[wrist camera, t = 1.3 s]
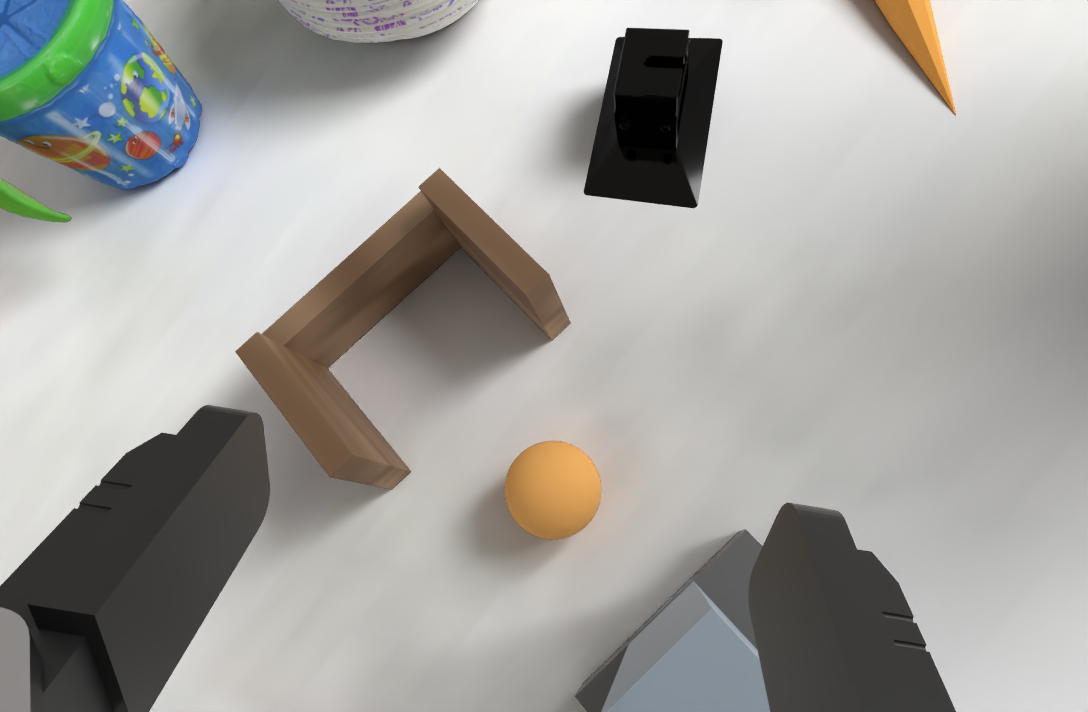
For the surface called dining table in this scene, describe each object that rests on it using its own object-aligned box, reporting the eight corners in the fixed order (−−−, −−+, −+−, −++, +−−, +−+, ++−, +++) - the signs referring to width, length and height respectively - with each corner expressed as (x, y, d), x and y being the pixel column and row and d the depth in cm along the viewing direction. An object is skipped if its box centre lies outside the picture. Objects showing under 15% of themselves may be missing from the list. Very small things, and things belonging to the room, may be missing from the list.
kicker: (739, 531, 28) (803, 518, 15) (803, 595, 27) (935, 645, 14) (582, 683, 27) (501, 814, 14) (641, 755, 26) (613, 970, 13)
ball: (563, 429, 30) (548, 413, 27) (624, 495, 29) (617, 488, 25) (498, 490, 30) (473, 482, 26) (557, 559, 29) (540, 561, 25)
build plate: (706, 239, 32) (711, 191, 28) (559, 223, 34) (543, 176, 29) (740, 24, 35) (749, -50, 31) (603, 19, 37) (594, -51, 32)
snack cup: (132, 18, 42) (-25, -137, 33) (273, 35, 40) (147, -127, 30) (25, 239, 39) (-186, 139, 29) (171, 273, 37) (-7, 175, 27)
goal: (463, 216, 34) (422, 151, 29) (570, 323, 32) (549, 274, 26) (296, 368, 34) (220, 332, 28) (391, 489, 31) (329, 477, 25)
